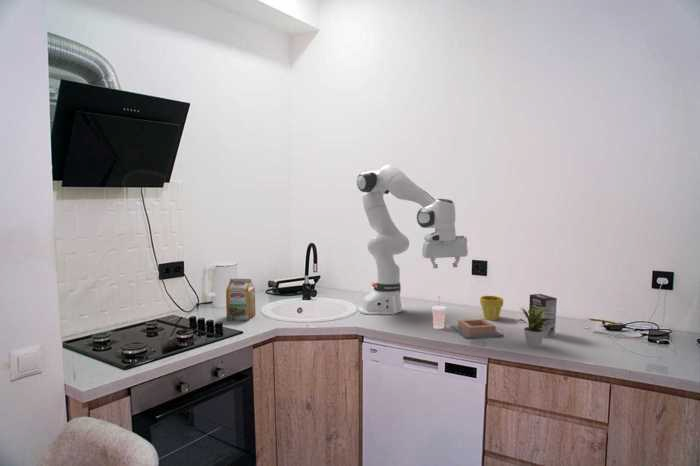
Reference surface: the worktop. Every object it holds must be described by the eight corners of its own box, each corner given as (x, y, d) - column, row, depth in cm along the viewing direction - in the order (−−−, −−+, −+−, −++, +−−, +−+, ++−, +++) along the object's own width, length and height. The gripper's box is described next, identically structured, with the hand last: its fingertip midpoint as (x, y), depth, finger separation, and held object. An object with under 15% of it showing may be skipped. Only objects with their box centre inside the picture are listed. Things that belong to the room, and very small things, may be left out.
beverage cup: (435, 324, 207) (436, 294, 206) (448, 326, 203) (448, 295, 202) (429, 327, 202) (429, 296, 201) (441, 330, 198) (442, 298, 197)
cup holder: (466, 338, 186) (466, 329, 185) (451, 327, 201) (451, 318, 201) (503, 336, 188) (503, 327, 188) (485, 326, 204) (485, 317, 204)
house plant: (515, 350, 172) (516, 307, 170) (507, 339, 185) (508, 299, 184) (555, 352, 170) (556, 308, 168) (544, 340, 183) (546, 300, 182)
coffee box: (527, 331, 196) (528, 294, 194) (539, 330, 198) (540, 293, 197) (543, 337, 187) (544, 298, 186) (556, 336, 189) (557, 297, 188)
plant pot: (498, 322, 210) (498, 301, 210) (476, 318, 217) (476, 298, 216) (505, 317, 218) (506, 297, 218) (484, 314, 225) (485, 294, 224)
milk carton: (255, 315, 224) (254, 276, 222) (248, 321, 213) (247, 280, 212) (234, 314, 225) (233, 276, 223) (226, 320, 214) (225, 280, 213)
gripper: (463, 235, 205) (463, 265, 206) (420, 236, 200) (420, 267, 201) (470, 235, 199) (470, 267, 200) (426, 237, 194) (426, 269, 195)
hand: (445, 267), depth 200 cm, fingers open, 8 cm apart
